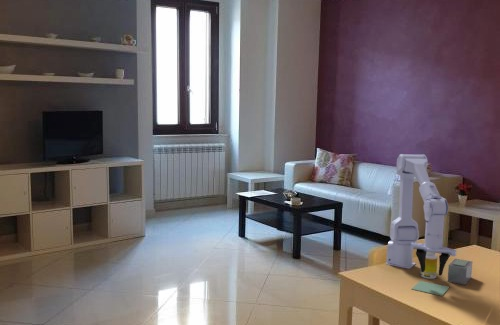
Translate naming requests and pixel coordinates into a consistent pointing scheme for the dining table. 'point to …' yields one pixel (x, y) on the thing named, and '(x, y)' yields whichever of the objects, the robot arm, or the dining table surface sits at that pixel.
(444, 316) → the dining table surface
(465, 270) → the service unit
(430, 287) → the pad
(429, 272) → the supplement bottle
